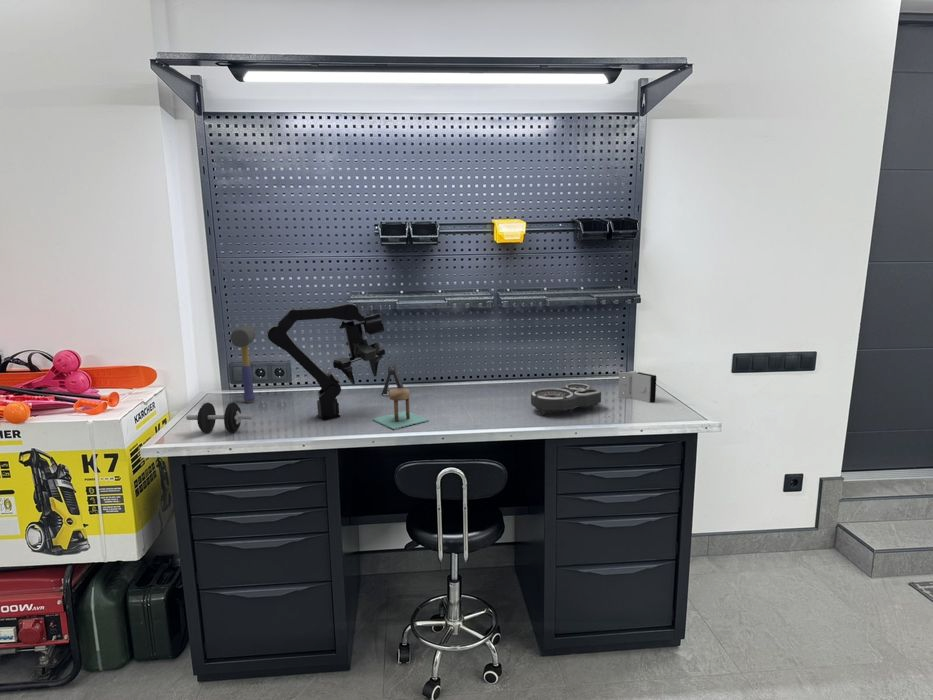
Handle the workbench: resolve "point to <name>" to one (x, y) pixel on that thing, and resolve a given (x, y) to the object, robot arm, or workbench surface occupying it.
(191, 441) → the workbench surface
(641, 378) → the hinge
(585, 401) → the motorcycle dashboard
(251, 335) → the rubber mallet
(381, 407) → the workbench surface
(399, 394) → the walnut stool
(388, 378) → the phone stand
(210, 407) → the dumbbell
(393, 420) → the rubber mat
